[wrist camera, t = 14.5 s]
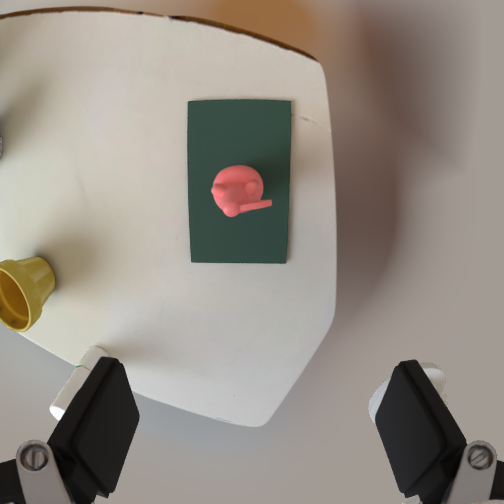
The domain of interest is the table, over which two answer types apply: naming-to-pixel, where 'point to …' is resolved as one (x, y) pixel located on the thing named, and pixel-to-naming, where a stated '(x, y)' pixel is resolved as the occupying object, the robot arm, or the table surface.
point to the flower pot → (24, 291)
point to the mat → (238, 153)
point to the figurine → (238, 190)
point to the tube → (76, 381)
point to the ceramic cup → (0, 144)
